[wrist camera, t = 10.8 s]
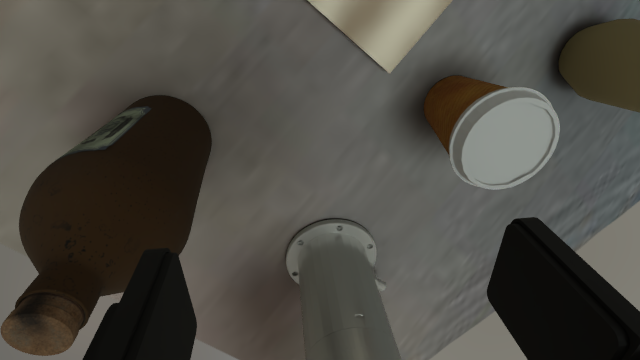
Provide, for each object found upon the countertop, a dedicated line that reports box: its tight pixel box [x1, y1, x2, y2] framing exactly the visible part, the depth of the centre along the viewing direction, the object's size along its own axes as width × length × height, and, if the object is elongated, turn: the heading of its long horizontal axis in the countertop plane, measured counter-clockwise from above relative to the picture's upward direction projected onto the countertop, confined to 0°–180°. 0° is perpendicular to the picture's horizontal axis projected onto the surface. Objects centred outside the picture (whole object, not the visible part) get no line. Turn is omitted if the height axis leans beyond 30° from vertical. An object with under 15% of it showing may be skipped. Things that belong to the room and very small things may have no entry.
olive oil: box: [1, 96, 212, 356], centre depth 28 cm, size 11×11×25 cm
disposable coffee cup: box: [424, 76, 560, 190], centre depth 36 cm, size 10×10×12 cm
